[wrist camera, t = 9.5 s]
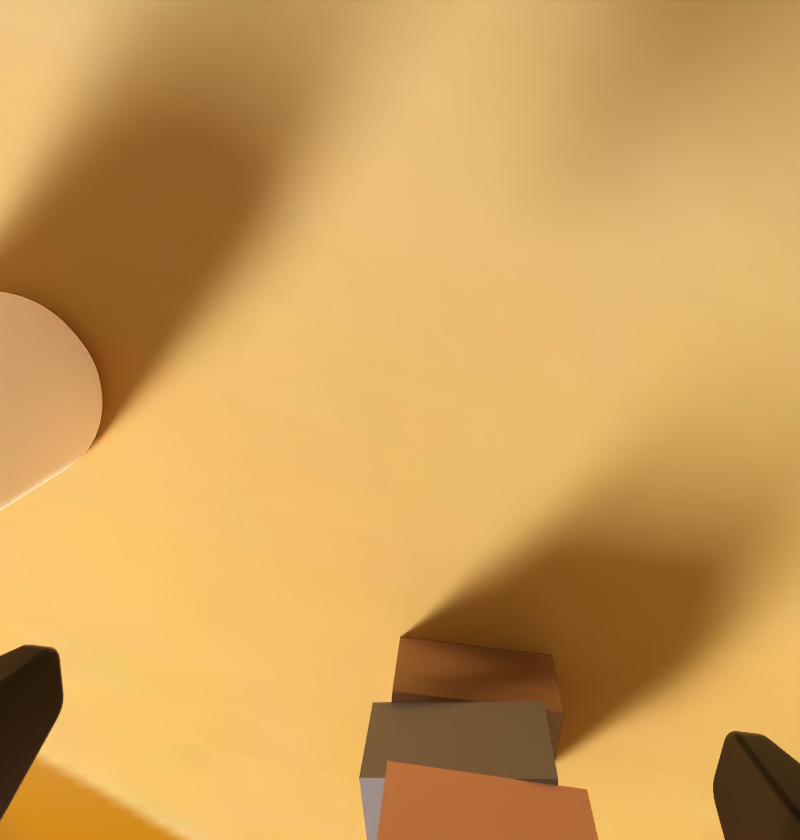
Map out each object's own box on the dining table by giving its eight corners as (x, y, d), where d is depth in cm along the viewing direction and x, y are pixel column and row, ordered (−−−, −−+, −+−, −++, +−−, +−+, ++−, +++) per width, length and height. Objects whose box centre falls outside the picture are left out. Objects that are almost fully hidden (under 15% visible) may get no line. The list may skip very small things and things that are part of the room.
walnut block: (550, 652, 23) (563, 712, 20) (530, 772, 25) (539, 843, 22) (400, 634, 24) (392, 690, 21) (389, 753, 25) (380, 821, 22)
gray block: (544, 701, 20) (557, 779, 17) (547, 835, 22) (560, 926, 19) (373, 702, 21) (359, 777, 18) (388, 832, 22) (377, 921, 20)
